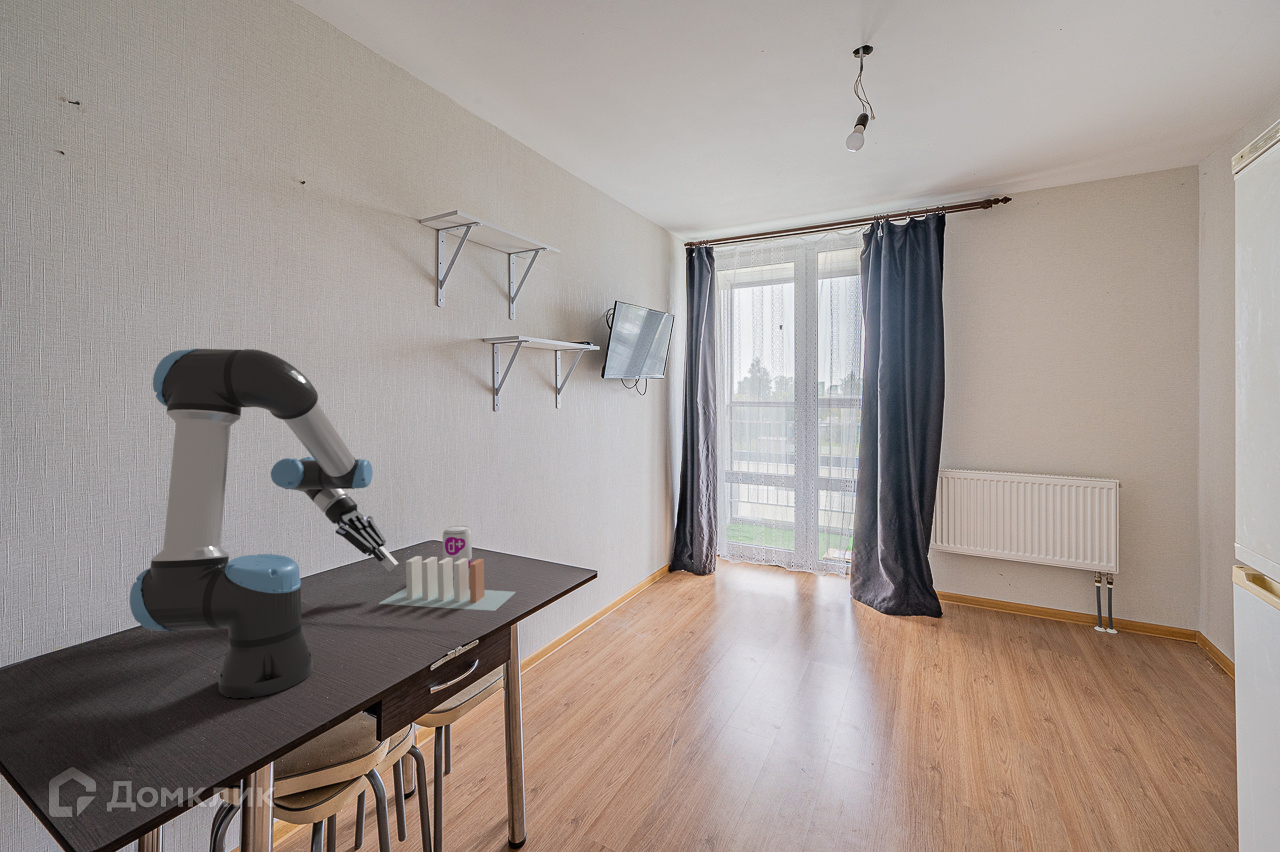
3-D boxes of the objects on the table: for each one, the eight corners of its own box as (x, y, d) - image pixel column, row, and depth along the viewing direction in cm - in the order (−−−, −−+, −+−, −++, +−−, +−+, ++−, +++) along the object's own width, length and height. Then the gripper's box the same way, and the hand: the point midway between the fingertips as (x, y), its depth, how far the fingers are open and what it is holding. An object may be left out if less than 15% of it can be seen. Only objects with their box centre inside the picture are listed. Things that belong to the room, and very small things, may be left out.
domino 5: (484, 596, 150) (483, 559, 150) (476, 602, 145) (475, 564, 145) (478, 595, 150) (478, 558, 150) (470, 602, 145) (469, 564, 145)
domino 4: (468, 595, 151) (468, 558, 150) (459, 601, 146) (459, 563, 145) (463, 594, 151) (462, 558, 151) (454, 601, 146) (453, 563, 146)
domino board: (495, 615, 139) (494, 610, 139) (378, 608, 145) (378, 603, 145) (516, 596, 153) (516, 591, 153) (409, 590, 159) (409, 585, 159)
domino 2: (437, 593, 152) (437, 557, 152) (428, 599, 147) (427, 562, 147) (432, 593, 152) (431, 556, 152) (422, 599, 148) (421, 562, 147)
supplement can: (467, 581, 166) (466, 531, 165) (439, 581, 166) (438, 531, 165) (475, 573, 174) (474, 525, 173) (449, 573, 174) (448, 525, 174)
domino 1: (422, 592, 153) (421, 556, 153) (412, 598, 148) (411, 561, 148) (417, 592, 153) (416, 556, 153) (406, 598, 148) (405, 561, 148)
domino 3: (453, 594, 151) (452, 557, 151) (443, 600, 147) (443, 563, 146) (447, 593, 152) (447, 557, 151) (438, 600, 147) (437, 562, 146)
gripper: (344, 509, 160) (399, 569, 158) (310, 518, 147) (369, 584, 145) (360, 491, 159) (416, 551, 157) (328, 499, 146) (387, 565, 144)
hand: (393, 567), depth 151 cm, fingers closed
